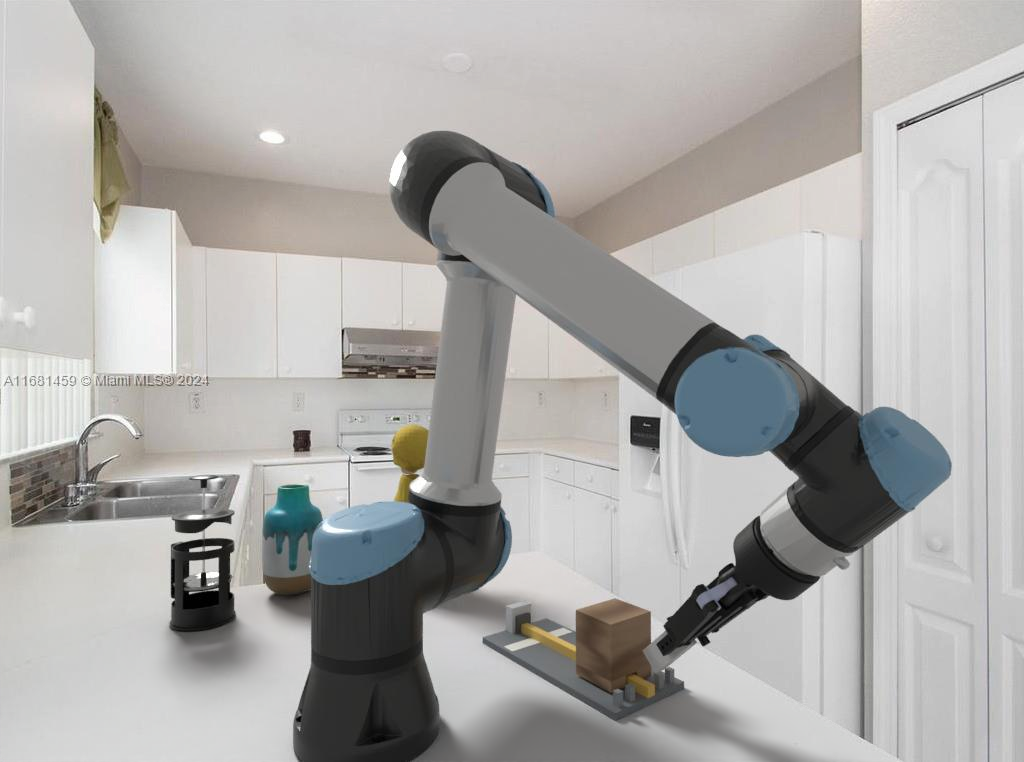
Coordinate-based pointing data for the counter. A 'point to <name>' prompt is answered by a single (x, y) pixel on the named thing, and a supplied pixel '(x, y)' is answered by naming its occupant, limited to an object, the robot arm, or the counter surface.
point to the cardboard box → (612, 643)
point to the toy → (409, 456)
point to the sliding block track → (573, 664)
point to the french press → (206, 605)
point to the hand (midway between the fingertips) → (653, 660)
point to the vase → (289, 540)
